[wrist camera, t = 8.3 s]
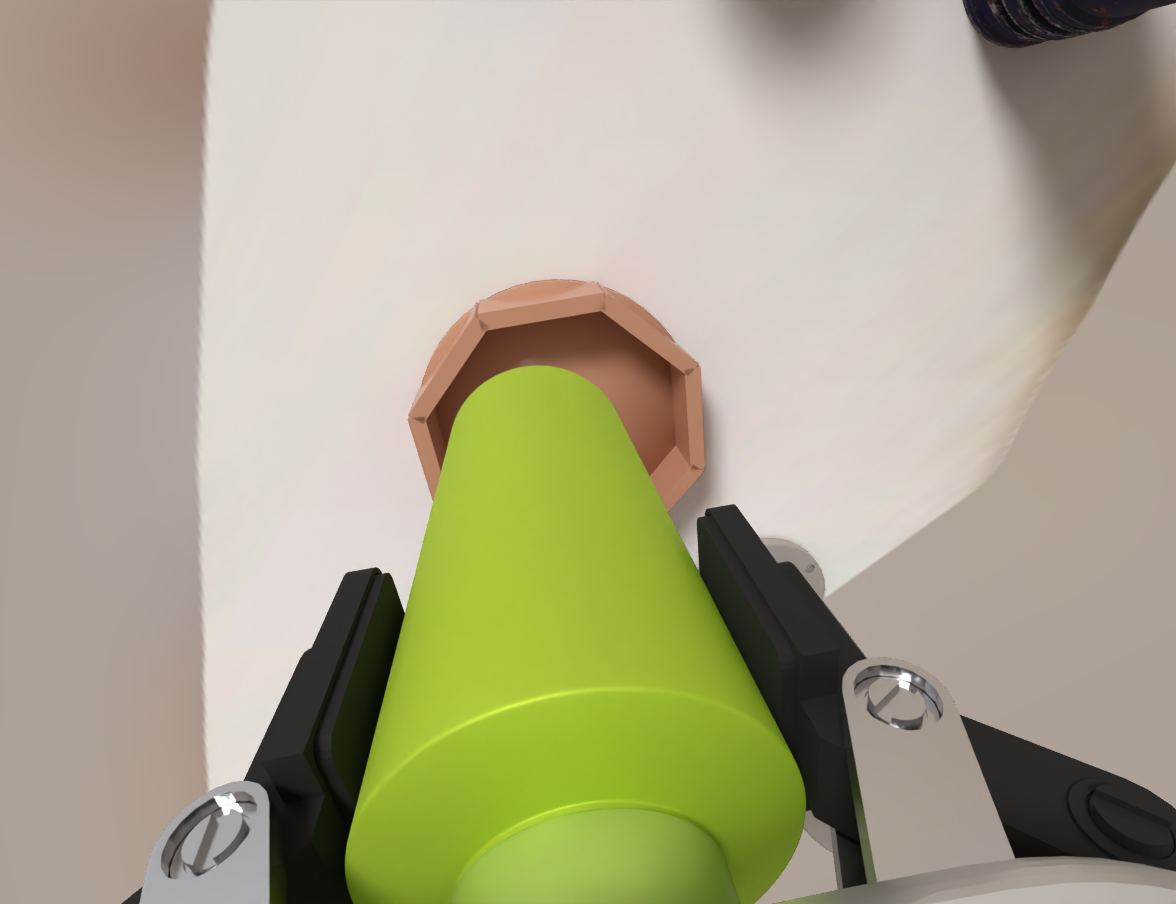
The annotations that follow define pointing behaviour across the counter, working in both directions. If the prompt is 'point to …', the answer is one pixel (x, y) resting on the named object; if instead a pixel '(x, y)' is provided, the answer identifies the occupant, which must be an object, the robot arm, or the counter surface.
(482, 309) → the bowl
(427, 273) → the counter surface
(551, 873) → the soap dispenser
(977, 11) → the storage jar
